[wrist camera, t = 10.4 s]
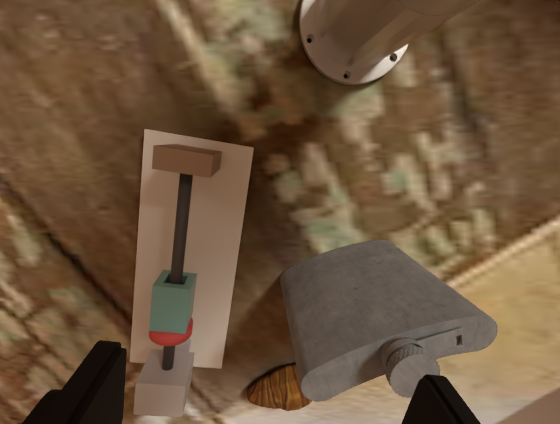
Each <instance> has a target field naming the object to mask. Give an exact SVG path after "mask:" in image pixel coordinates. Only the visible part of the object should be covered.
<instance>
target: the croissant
mask: <svg viewBox="0 0 560 424" xmlns="http://www.w3.org/2000/svg"><path fill="white" fill-rule="evenodd" d="M247 398H248V400H249V401H250V403H253V404H255V405H258V406H261V407H268V408H281V409H283V410H286V411H290V410H298V409H301V408H302V407H304V406H306V405H308V404H310V403H311V402H312V400H310V399H308V398H306V397H305V396H304V395H303V393H302V391H301V387H300V382H299V377H298V372H297V366H296V363H292V364H287V365H285V366H283V367H280V368H278V369H276V370H275V371H274V372H272V373H269V374H266V375H264V376H263V377H261V378H260V379H258V380H257V381H255V382H254V383H253V384H252V385H250V386H249V387H248V388H247Z"/></svg>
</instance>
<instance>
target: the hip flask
mask: <svg viewBox="0 0 560 424" xmlns="http://www.w3.org/2000/svg"><path fill="white" fill-rule="evenodd" d="M280 285H281V290H282V295H283V301H284V306H285V311H286V316H287V321H288V326H289V331H290V336H291V341H292V346H293V351H294V356H295V361H296V366H297V372H298V377H299V382H300V387H301V391H302V393H303V395H304V396H305V397H306V398H308V399H310V400H312V401H325V400H328V399H330V398H332V397H334V396H336V395H338V394H340V393H342V392H344V391H346V390H348V389H350V388H352V387H355V386H357V385H359V384H362V383H364V382H366V381H369V380H371V379H374V378H376V377H379V376H382V375H384V374H386V377H387V380H388V382H389V384H390V386H391V387H392V389H393V390H394V391H395V393H397V394H398V395H400V396H402V397H407V398H409V397H410V398H412V396H413V394H414V391H415V389H416V386H417V384H418V381H419V380H420V379H422V378H423V376H424V375H426V374H430V375H439V376H440V366H439V365H438V362H437V361H436V360H435V359H438V358H441V357H445V356H450V355H455V354H461V353H467V352H474V351H479V350H482V349H484V348H486V347H488V346H489V345H490V344H491V343H492V342H493V341H494V339H495V337H496V335H497V329H498V328H497V324H496V322H495V321H494V319H492V318H491V317H490V316H488V315H487V314H486V313H484V312H483V311H482V310H480V309H479V308H478V307H476V306H475V305H474V304H472V303H471V302H470V301H468V300H467V299H466V298H464V297H463V296H462V295H460V294H459V293H458V292H456V291H455V290H453V289H452V288H451V287H449V286H448V285H447V284H445V283H444V282H443V281H441V280H440V279H439V278H437V277H436V276H435V275H433V274H432V273H431V272H429V271H428V270H427V269H425V268H424V267H423V266H421V265H420V264H419V263H417V262H416V261H415V260H413V259H412V258H411V257H409V256H408V255H407V254H405V253H404V252H403V251H401V250H400V249H399V248H397V247H396V246H395V245H393V244H392V243H391V242H389V241H388V240H374V241H367V242H361V243H357V244H352V245H348V246H344V247H341V248H337V249H334V250H331V251H328V252H325V253H322V254H319V255H316V256H314V257H311V258H309V259H307V260H304V261H302V262H300V263H298V264H296V265H294V266H292V267H290V268H288V269H286V270H285V271H283V272H282V274H281V276H280Z"/></svg>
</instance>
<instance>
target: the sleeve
mask: <svg viewBox="0 0 560 424" xmlns="http://www.w3.org/2000/svg"><path fill="white" fill-rule="evenodd" d="M170 274H171V270H163V271H162V272H161V274H160V275H159V277H158V278H157V280H156V281H155V283H154V284H153V286H152V297H151V310H150V323H149V331H158V332H170V333H181V334H186V331H187V328H188V325H189V322H190V319H191V316H192V313H193V304H194V296H195V287H196V278H197V273H189V272H183V277H182V285H180V284H171V283H170Z"/></svg>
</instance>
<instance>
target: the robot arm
mask: <svg viewBox="0 0 560 424" xmlns="http://www.w3.org/2000/svg"><path fill="white" fill-rule="evenodd" d="M478 1H480V0H302V3H301V7H300V13H299V32H300V38H301V42H302V45H303V48H304V51H305V53H306V55H307V56H308V58H309V60H310V62H311V63H312V64H313V65H314V67H315V68H316V69H317V70H318V71H319V72H320V73H322V74H323V75H324V76H325V77H327V78H329V79H331V80H333V81H335V82H337V83H341V84H345V85H360V84H366V83H369V82H371V81H374V80H376V79H378V78H380V77H382V76H384V75H385V74H386V73H388V72H389V71H390V70H391V69H393V67H394V66H395V65H396V64H397V63H398V62H399V61H400V59H401V58H402V56H403V55H404V53H405V51H406V49H407V47H408V45H409V43H411V42H412V41H414V40H416V39H417V38H419V37H421V36H422V35H424V34H426V33H427V32H429V31H431V30H432V29H434V28H436V27H437V26H439V25H441V24H442V23H444V22H445V21H447V20H449V19H450V18H452V17H454V16H455V15H457V14H459V13H460V12H462V11H464V10H465V9H467V8H469V7H470V6H472V5H473V4H475V3H476V2H478ZM307 39H310V40H311V43H308V42H307ZM390 58H391V59H392V61H390ZM344 74H345V75H346V76H347V78H346V79H345V78H344V77H343V75H344ZM126 354H127V350H126V349H125V348H121V343H119V342H111V341H101V340H100V341H98V342H97V343H96V344H95V346H94V347H93V348H92V350H91V351H90V352H89V354H88V355H87V356H86V358H85V359H84V360H83V362H82V363H81V364H80V366H79V367H78V368H77V370H76V371H75V372H74V374H73V375H72V376H71V378H70V379H69V380H68V382H67V383H66V385H65V386H64V387H63V389H62V390H56V389H55V390H51V391H49V392H48V393H46V394H45V396H44V397H43V398H42V399H41V400H40V401H39V403H38V404H37V405H36V406H35V408H34V409H33V410H32V411H31V413H30V414H29V415H28V416H27V418H26V419H25V420H24V421H23V423H22V424H121V423H122V419H123V405H124V388H125V371H126ZM402 424H481V423H480V422H479V421H478V419H477V418H476V417H475V415H474V414H473V413H472V411H471V410H470V409H469V407H468V406H467V405H466V403H465V402H464V401H463V399H462V398H461V396H460V395H459V394H458V392H457V391H456V390H455V388H454V387H453V386H452V384H451V383H450V382H449V380H448V379H447V378H446V377H444V376H439V375H430V374H426V375H424V376H423V378H422V379H420V380H419V381H418V384H417V386H416V389H415V391H414V394H413V396H412V399H411V401H410V404H409V406H408V409H407V411H406V414H405V416H404V419H403V422H402Z"/></svg>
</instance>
